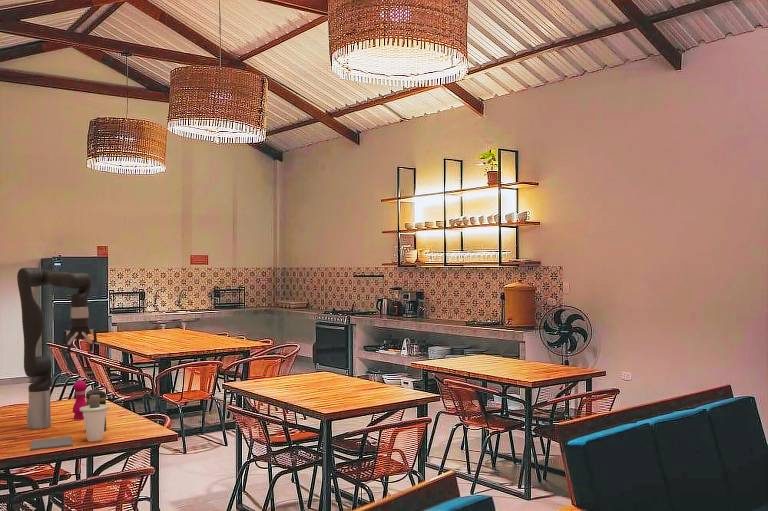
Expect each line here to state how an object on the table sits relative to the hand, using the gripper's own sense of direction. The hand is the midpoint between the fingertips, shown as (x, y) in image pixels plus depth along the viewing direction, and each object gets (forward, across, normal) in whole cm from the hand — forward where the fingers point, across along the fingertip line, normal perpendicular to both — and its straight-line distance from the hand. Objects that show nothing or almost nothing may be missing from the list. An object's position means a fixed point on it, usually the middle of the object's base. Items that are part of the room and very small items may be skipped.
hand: (80, 352), depth 334 cm
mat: (+36, -12, -19) cm, 42 cm away
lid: (+23, +5, -19) cm, 30 cm away
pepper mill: (+36, 0, +32) cm, 49 cm away
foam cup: (+36, +5, -20) cm, 41 cm away
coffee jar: (+36, +6, 0) cm, 37 cm away
